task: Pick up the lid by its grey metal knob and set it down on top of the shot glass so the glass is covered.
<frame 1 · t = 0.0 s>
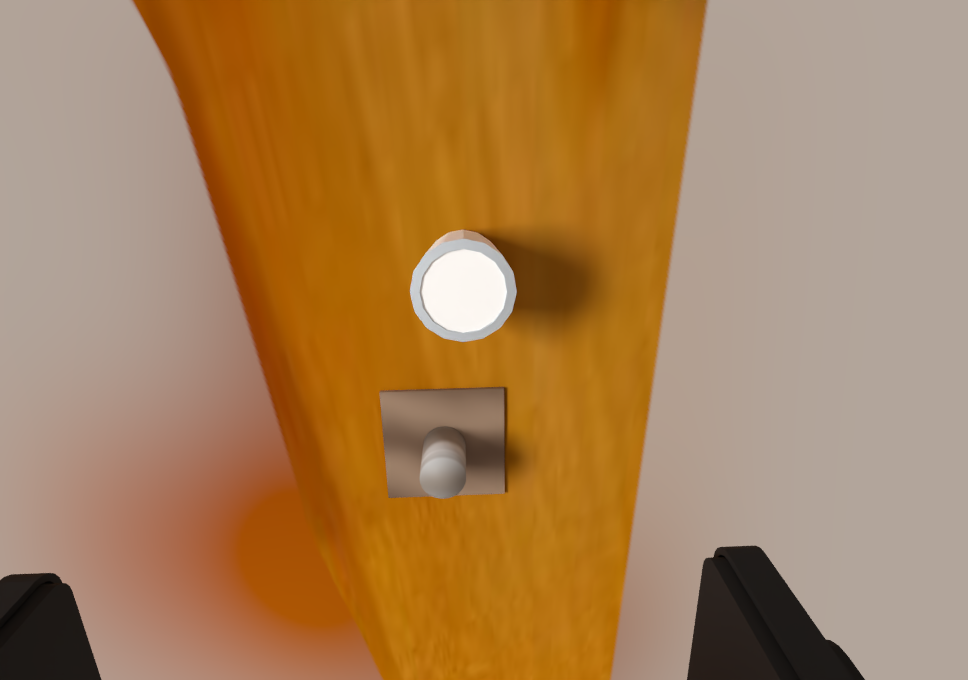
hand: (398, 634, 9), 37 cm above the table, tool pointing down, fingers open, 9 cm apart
lid: (444, 440, 50), on the table
shot glass: (463, 266, 45), on the table
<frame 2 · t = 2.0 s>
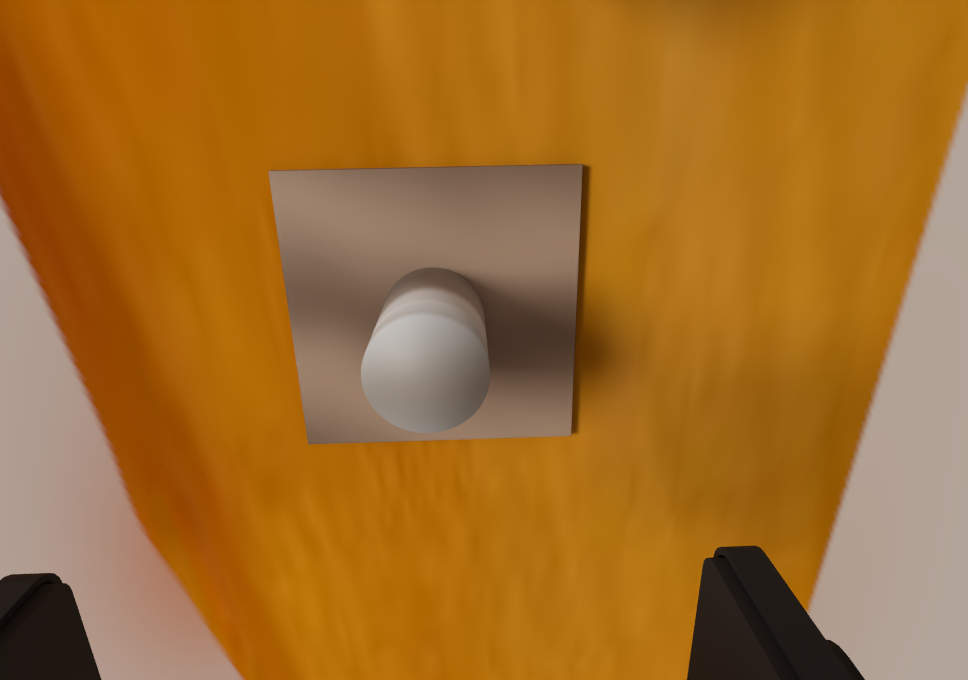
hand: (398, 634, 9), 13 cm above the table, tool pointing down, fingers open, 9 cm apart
lid: (435, 308, 21), on the table
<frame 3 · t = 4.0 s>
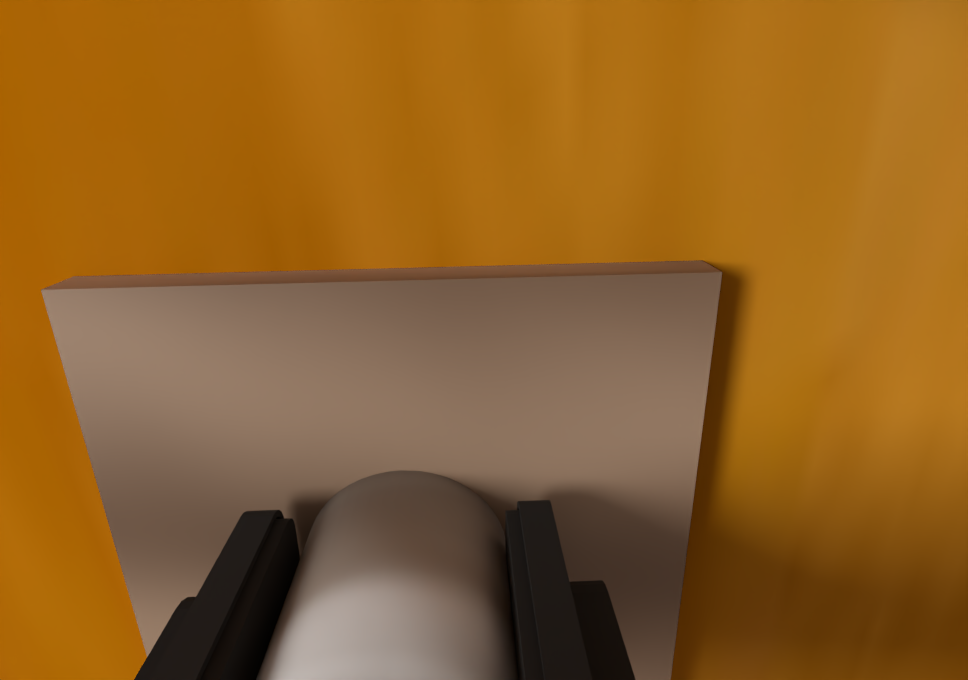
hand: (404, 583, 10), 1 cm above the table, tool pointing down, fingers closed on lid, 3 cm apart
lid: (411, 526, 11), on the table, touching gripper
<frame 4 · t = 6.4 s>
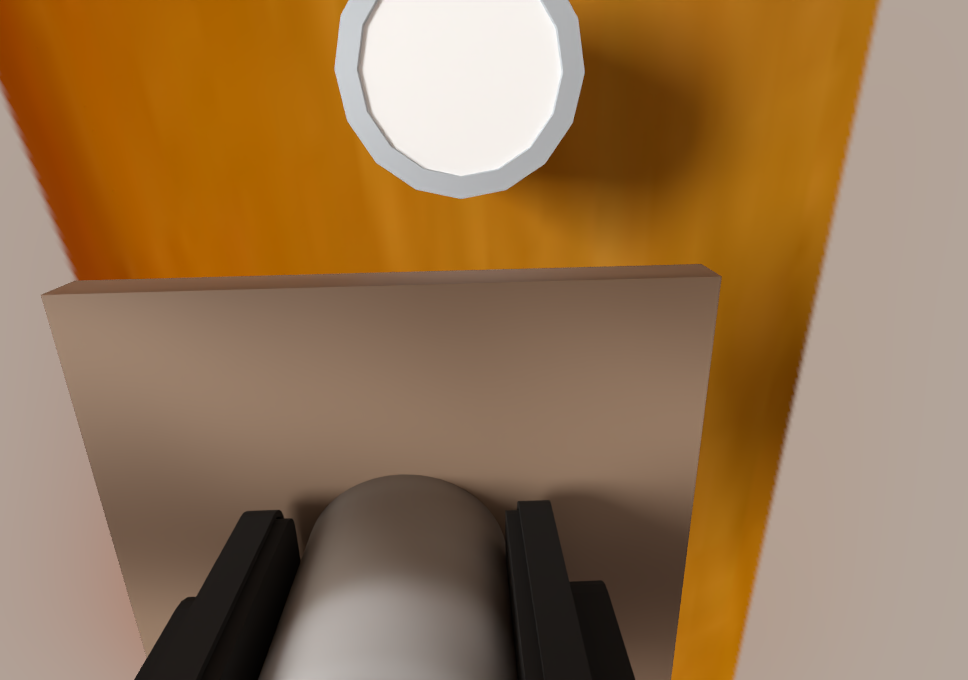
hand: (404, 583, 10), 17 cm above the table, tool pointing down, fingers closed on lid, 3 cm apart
lid: (411, 529, 11), point 15 cm above the table, touching gripper
shot glass: (461, 90, 23), on the table
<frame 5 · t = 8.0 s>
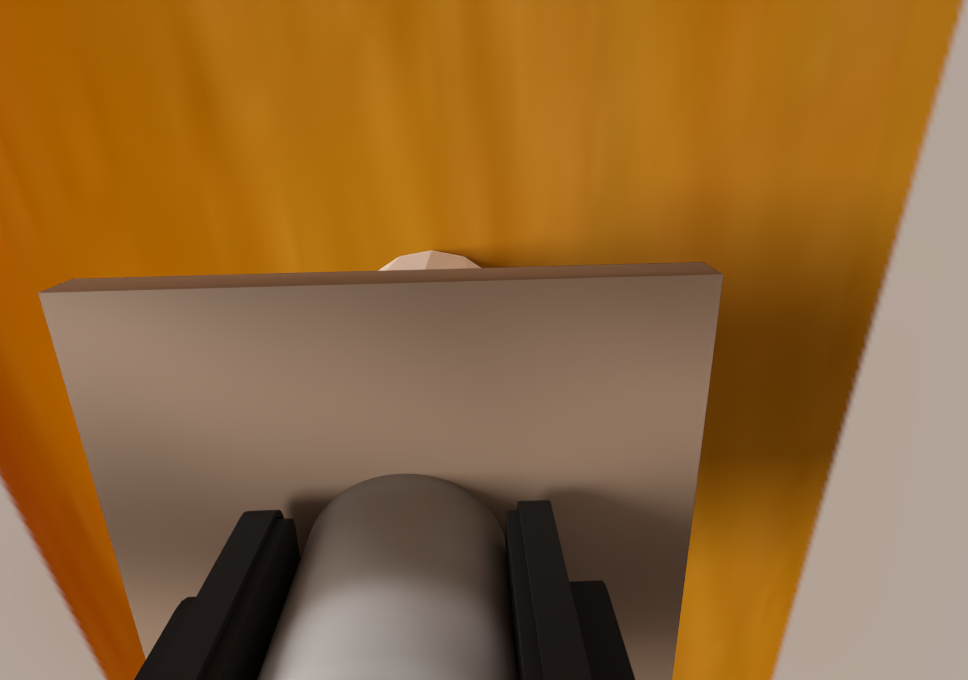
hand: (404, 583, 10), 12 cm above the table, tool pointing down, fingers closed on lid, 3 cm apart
lid: (411, 529, 11), point 10 cm above the table, touching gripper
shot glass: (433, 327, 21), on the table
when the fingers open (10 cm above the table, at t = 9.0 s): lid drops 1 cm, resting on shot glass.
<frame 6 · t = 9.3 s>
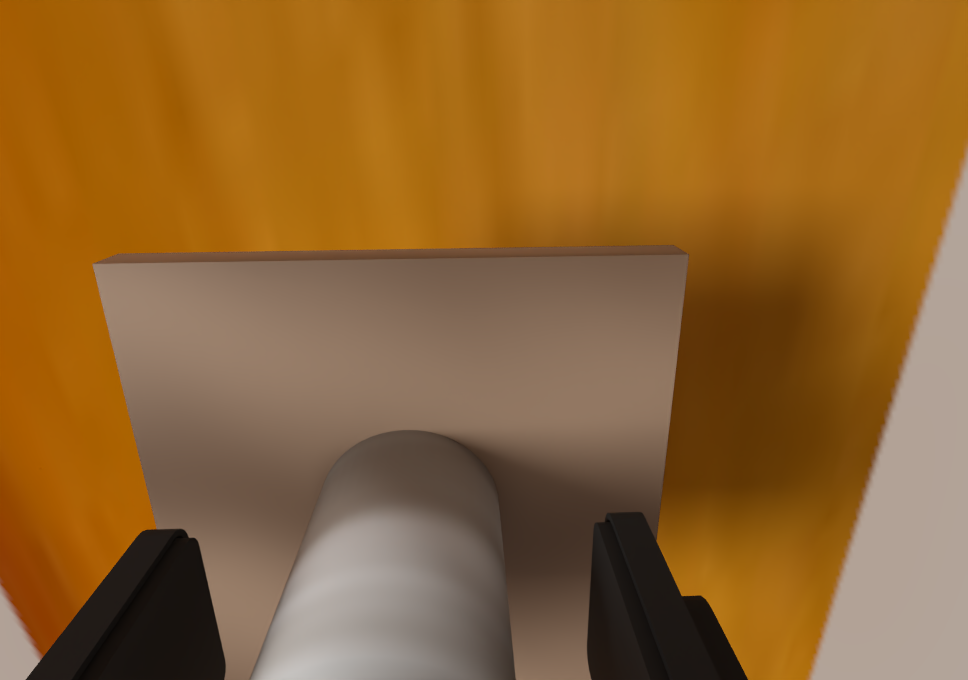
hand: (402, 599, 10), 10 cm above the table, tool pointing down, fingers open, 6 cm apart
lid: (413, 484, 12), point 7 cm above the table, touching shot glass
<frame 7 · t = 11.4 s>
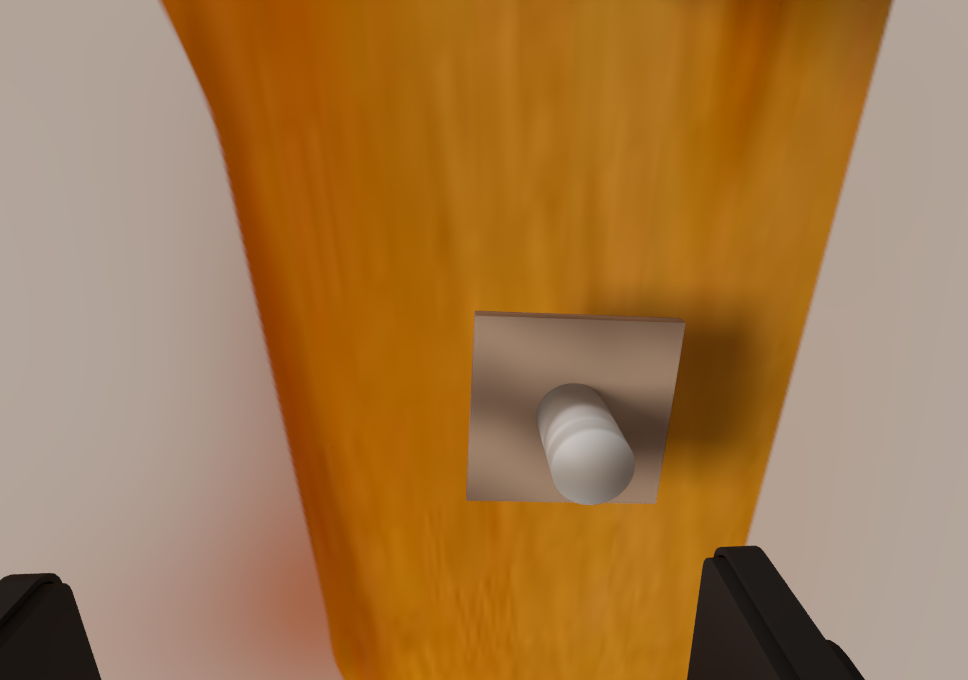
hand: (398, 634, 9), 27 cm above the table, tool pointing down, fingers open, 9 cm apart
lid: (568, 408, 30), point 7 cm above the table, touching shot glass
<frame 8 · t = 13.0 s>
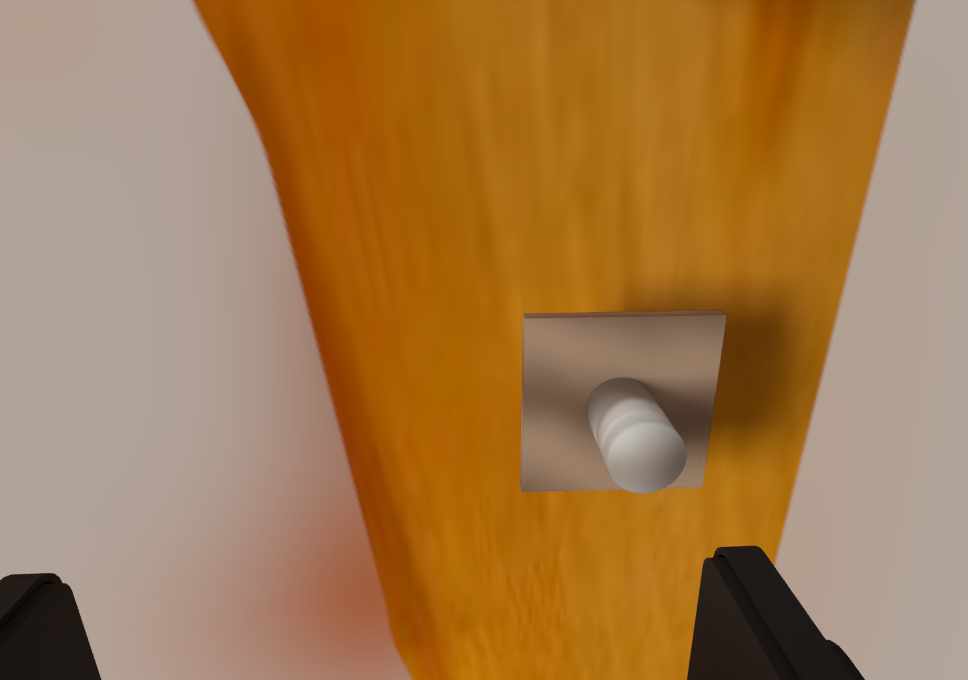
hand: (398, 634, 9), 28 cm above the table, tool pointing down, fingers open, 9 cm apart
lid: (615, 401, 32), point 7 cm above the table, touching shot glass
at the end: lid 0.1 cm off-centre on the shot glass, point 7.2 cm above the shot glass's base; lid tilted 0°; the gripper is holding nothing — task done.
